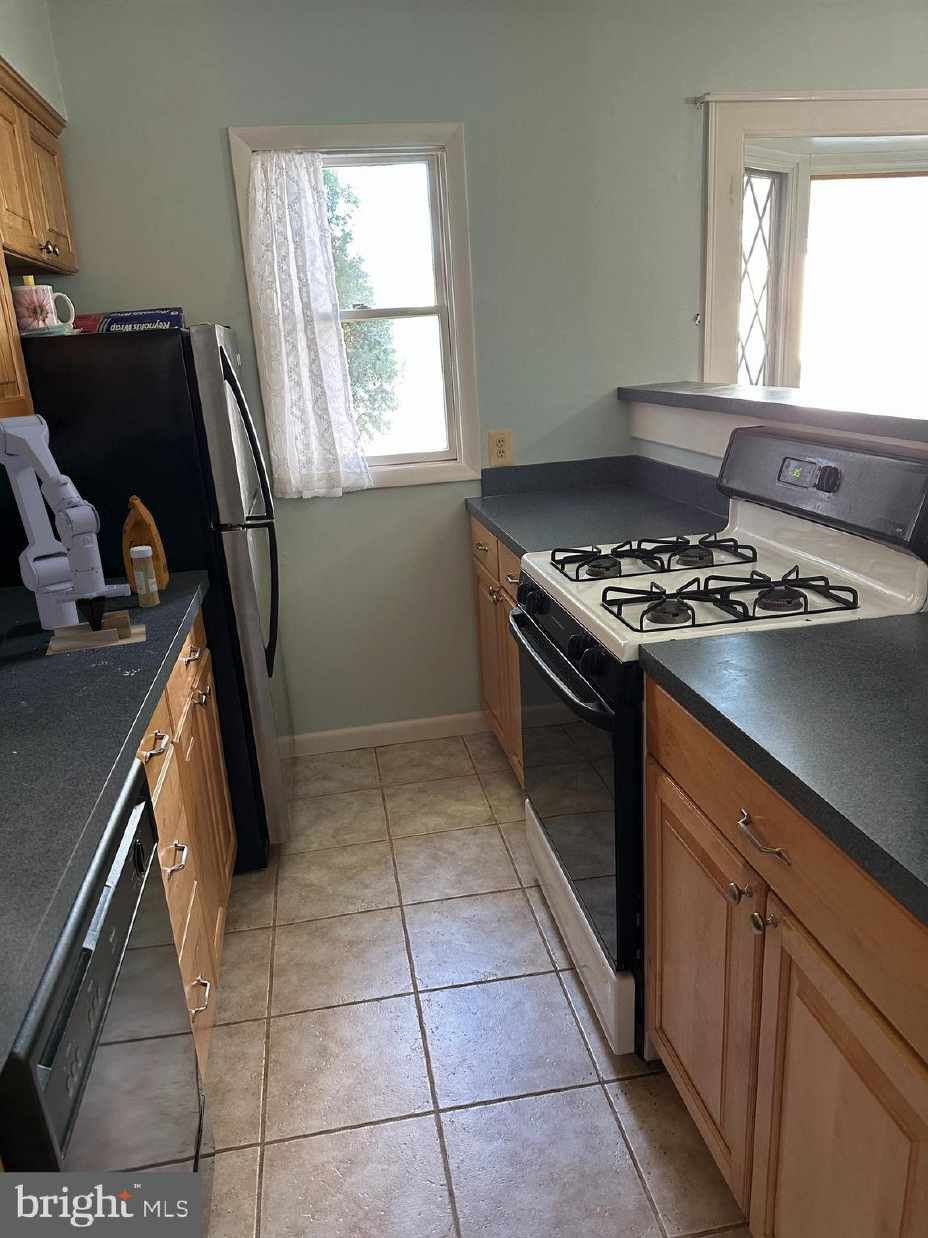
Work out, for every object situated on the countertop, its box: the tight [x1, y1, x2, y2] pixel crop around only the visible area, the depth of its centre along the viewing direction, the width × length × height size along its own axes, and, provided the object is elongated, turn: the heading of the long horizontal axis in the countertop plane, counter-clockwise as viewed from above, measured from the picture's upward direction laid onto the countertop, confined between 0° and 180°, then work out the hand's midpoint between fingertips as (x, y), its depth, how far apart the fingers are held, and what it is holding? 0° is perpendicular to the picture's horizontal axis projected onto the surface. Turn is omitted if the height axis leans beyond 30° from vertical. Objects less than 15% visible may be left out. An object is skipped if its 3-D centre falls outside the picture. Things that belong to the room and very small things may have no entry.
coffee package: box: [122, 495, 170, 594], centre depth 215 cm, size 10×12×22 cm
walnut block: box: [102, 609, 132, 639], centre depth 177 cm, size 4×4×4 cm
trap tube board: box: [45, 619, 147, 656], centre depth 176 cm, size 12×18×4 cm, turn 110°
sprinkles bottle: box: [130, 546, 161, 608], centre depth 200 cm, size 5×5×14 cm
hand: (97, 634), depth 176 cm, fingers closed
